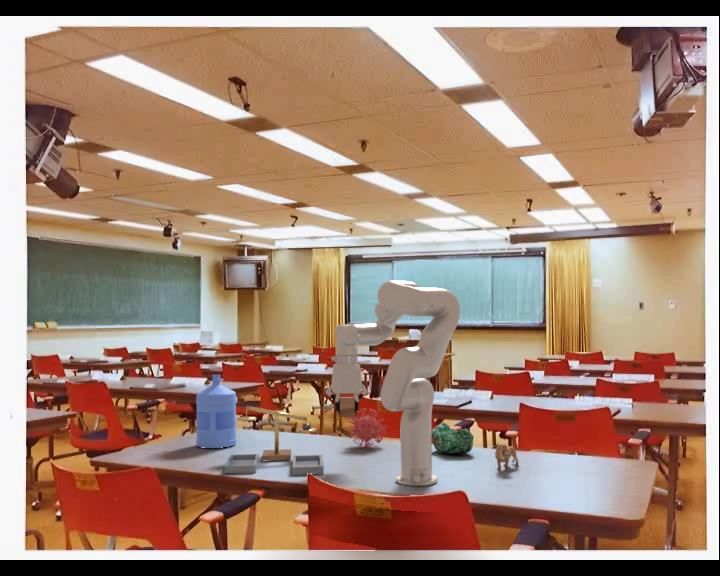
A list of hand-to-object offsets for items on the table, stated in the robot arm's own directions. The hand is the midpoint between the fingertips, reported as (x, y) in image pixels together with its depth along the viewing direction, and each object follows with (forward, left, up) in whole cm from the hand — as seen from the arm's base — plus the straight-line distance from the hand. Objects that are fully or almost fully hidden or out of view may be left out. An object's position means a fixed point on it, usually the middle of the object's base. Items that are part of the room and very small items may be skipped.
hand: (347, 412), depth 228 cm
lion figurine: (-14, -52, -18) cm, 56 cm away
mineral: (+13, -39, -18) cm, 45 cm away
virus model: (+28, -9, -18) cm, 35 cm away
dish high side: (0, +36, -18) cm, 40 cm away
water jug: (+40, +50, -18) cm, 67 cm away
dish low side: (-5, +14, -18) cm, 23 cm away
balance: (+13, +25, -18) cm, 33 cm away
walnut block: (0, 0, -1) cm, 1 cm away
